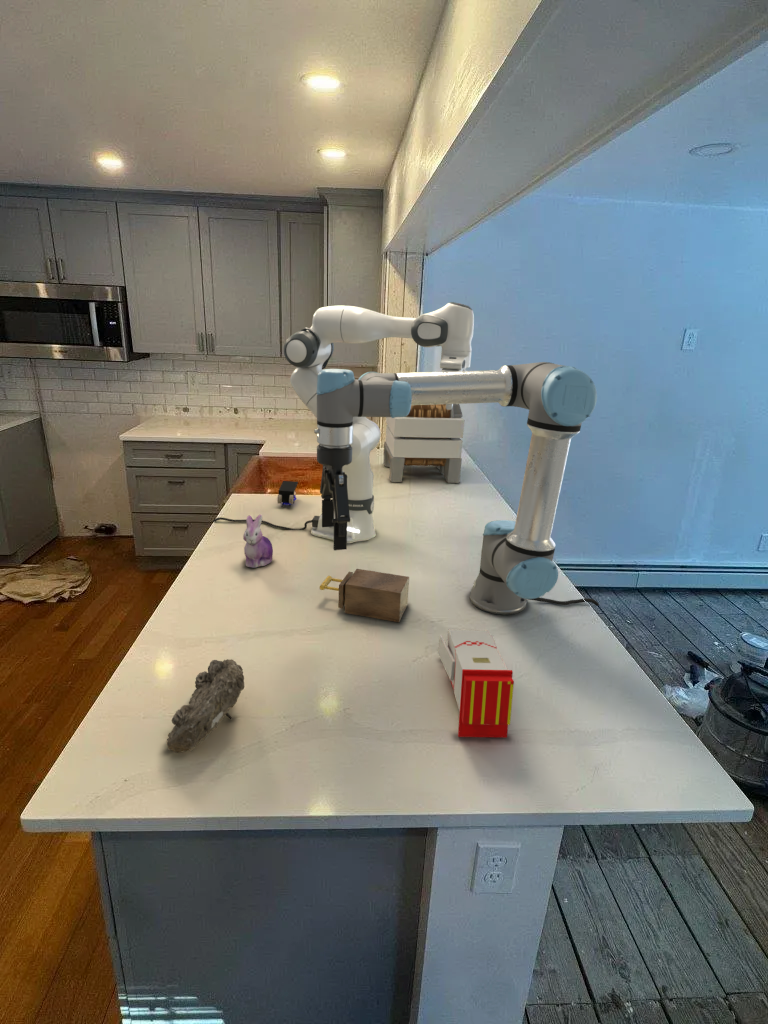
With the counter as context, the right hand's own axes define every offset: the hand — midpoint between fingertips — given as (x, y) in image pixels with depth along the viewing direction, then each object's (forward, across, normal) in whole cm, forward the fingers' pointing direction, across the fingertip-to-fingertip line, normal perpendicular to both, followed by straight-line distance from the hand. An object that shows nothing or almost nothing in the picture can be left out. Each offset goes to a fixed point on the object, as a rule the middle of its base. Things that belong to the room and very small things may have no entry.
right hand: (333, 537), depth 127 cm
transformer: (+26, -133, +70) cm, 153 cm away
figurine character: (+26, -98, +2) cm, 102 cm away
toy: (+26, +27, +24) cm, 44 cm away
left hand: (-21, -46, +46) cm, 68 cm away
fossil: (+26, +22, -28) cm, 44 cm away
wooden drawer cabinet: (+26, -11, +14) cm, 31 cm away
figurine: (+26, -46, -14) cm, 54 cm away
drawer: (+25, -14, +9) cm, 30 cm away
